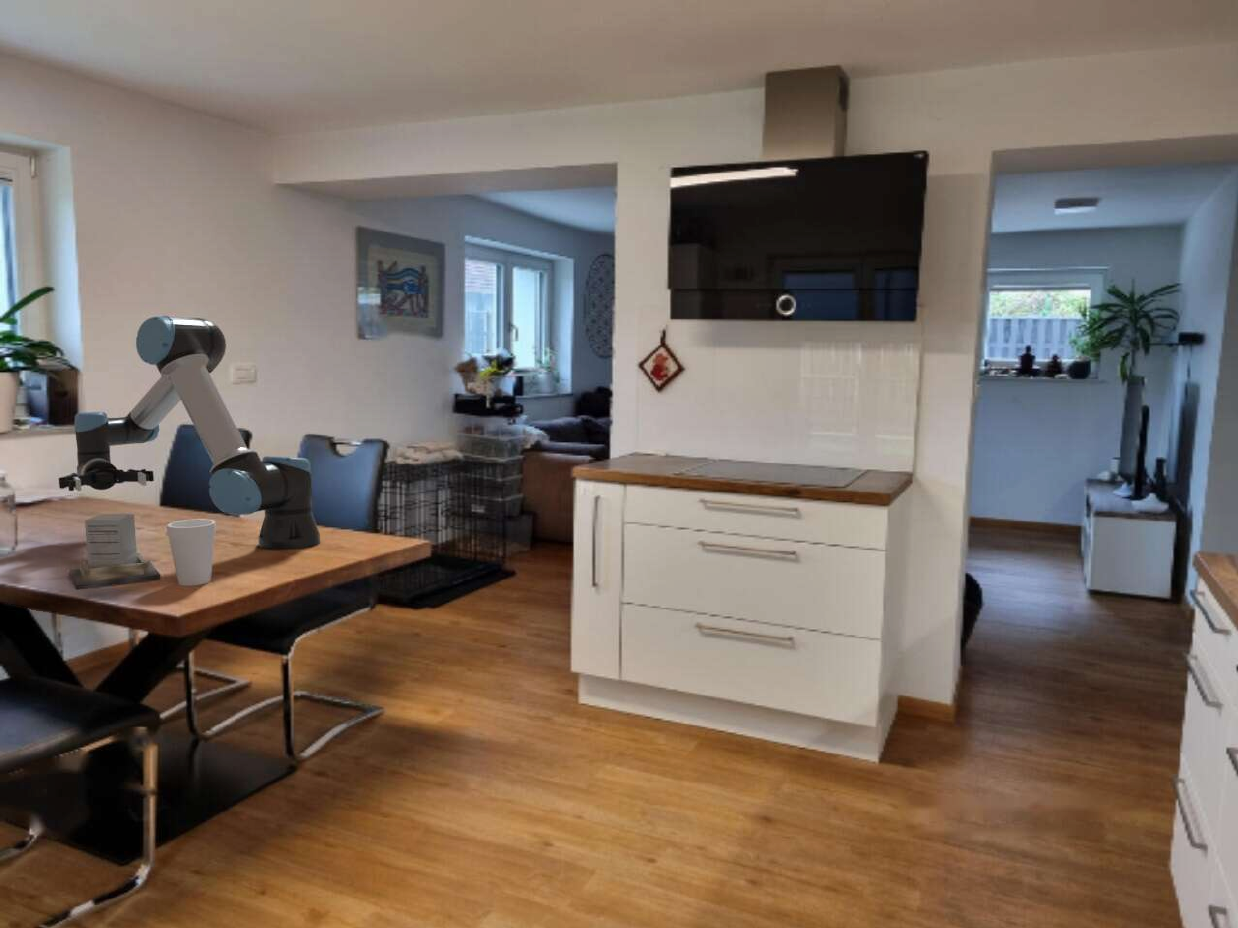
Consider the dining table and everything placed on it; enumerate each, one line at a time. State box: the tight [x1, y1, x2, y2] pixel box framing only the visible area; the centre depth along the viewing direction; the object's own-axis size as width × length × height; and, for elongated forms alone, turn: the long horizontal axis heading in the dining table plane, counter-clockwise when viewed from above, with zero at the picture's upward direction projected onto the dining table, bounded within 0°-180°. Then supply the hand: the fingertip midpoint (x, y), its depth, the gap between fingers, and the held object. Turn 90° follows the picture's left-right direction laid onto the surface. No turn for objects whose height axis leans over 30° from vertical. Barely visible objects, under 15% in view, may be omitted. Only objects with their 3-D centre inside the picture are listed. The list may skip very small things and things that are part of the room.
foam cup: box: [166, 518, 217, 587], centre depth 188 cm, size 10×9×13 cm
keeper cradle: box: [68, 552, 162, 591], centre depth 192 cm, size 16×16×4 cm
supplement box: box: [84, 513, 138, 569], centre depth 192 cm, size 7×7×13 cm
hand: (112, 482), depth 207 cm, fingers open, 13 cm apart
